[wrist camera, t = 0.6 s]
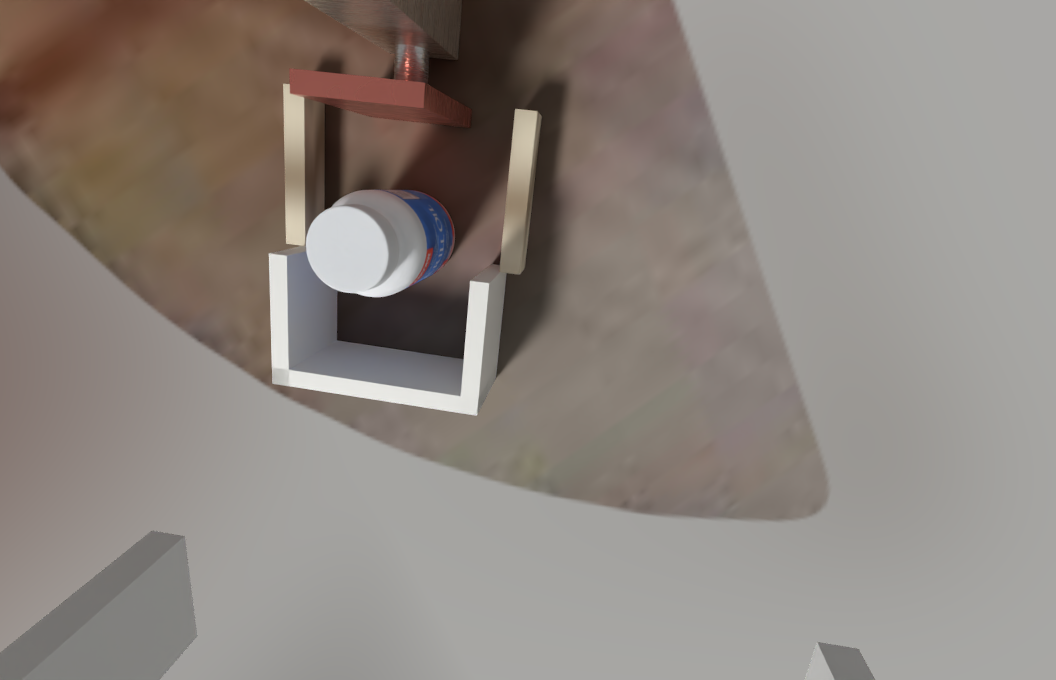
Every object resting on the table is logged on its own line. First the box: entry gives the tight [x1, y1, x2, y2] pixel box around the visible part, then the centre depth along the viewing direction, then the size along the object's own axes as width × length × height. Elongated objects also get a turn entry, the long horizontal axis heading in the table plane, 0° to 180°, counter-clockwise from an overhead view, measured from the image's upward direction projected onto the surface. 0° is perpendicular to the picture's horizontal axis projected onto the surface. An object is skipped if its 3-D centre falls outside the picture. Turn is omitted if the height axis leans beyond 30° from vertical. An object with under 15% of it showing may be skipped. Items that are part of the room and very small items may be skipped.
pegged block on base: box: [290, 0, 472, 128], centre depth 25 cm, size 10×6×11 cm, turn 173°
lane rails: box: [283, 84, 542, 275], centre depth 32 cm, size 9×14×2 cm, turn 83°
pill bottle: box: [306, 190, 455, 297], centre depth 29 cm, size 6×5×10 cm
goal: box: [269, 246, 507, 416], centre depth 32 cm, size 8×12×6 cm, turn 83°
